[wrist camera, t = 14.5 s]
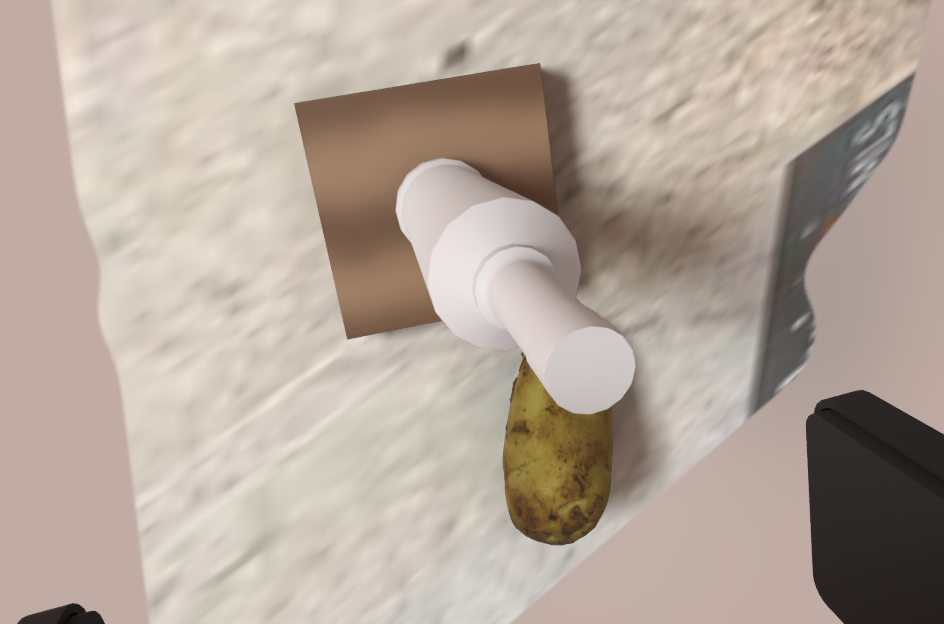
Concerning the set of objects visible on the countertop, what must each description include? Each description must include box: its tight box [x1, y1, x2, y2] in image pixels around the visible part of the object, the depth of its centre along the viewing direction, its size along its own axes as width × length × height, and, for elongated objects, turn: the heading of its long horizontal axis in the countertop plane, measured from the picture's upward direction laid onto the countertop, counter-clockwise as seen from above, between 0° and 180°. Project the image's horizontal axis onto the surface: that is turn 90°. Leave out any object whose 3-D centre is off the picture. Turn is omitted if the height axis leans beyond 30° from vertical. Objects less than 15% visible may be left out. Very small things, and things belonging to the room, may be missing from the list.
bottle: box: [396, 158, 636, 414], centre depth 27 cm, size 5×5×25 cm
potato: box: [503, 351, 613, 545], centre depth 43 cm, size 8×13×8 cm, turn 155°
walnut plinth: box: [294, 63, 558, 340], centre depth 40 cm, size 13×13×3 cm
